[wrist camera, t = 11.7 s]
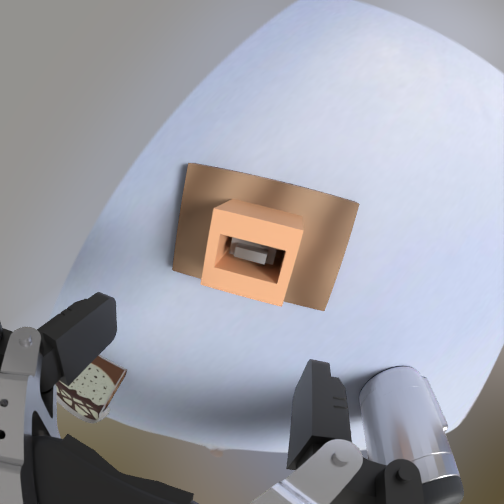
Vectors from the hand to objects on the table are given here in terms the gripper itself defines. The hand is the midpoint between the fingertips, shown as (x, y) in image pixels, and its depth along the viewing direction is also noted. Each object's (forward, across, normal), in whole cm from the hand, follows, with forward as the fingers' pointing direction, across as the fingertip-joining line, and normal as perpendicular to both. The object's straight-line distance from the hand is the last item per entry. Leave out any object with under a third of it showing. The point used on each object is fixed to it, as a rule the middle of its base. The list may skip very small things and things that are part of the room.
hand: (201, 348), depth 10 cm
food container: (+18, +20, +28) cm, 39 cm away
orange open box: (+16, 0, 0) cm, 17 cm away
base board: (+18, 0, 0) cm, 18 cm away
